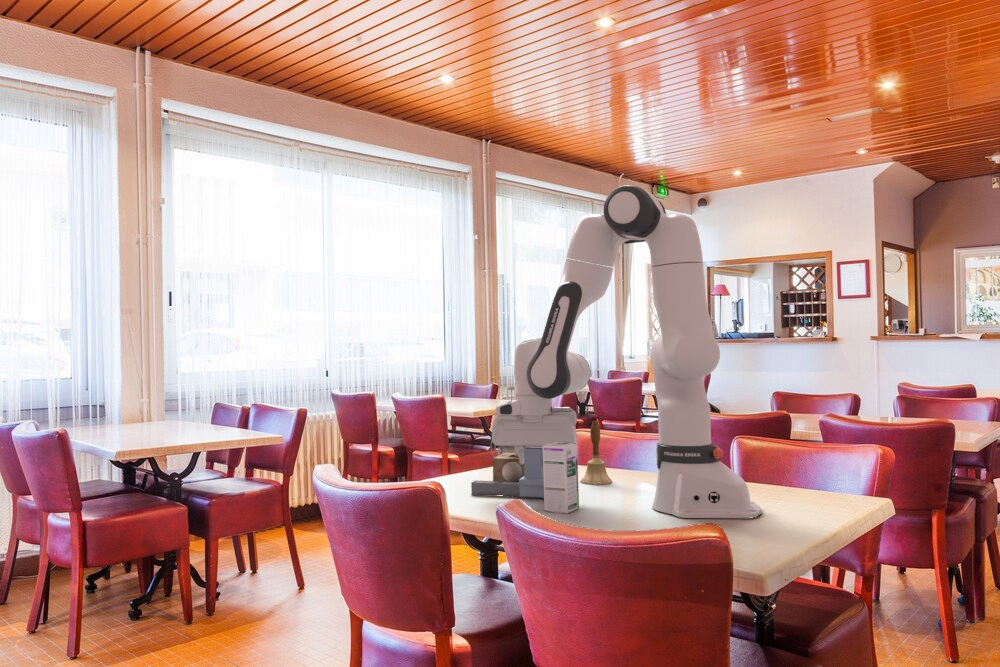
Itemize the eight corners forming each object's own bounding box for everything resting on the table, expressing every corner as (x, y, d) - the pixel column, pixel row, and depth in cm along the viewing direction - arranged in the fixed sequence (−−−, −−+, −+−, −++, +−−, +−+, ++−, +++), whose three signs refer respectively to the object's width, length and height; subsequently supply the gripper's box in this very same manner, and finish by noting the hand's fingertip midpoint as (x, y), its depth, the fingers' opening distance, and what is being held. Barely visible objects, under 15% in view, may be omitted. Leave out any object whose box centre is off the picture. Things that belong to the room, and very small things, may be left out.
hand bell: (614, 484, 192) (613, 422, 192) (581, 485, 192) (581, 422, 192) (610, 479, 200) (609, 419, 201) (579, 479, 200) (578, 419, 201)
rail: (559, 496, 178) (559, 483, 178) (556, 498, 175) (556, 485, 175) (475, 492, 184) (475, 480, 184) (471, 495, 181) (471, 482, 181)
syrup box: (567, 514, 159) (566, 445, 159) (543, 511, 162) (542, 444, 163) (579, 509, 164) (578, 442, 164) (555, 506, 167) (554, 441, 167)
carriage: (550, 492, 181) (549, 446, 181) (544, 497, 174) (543, 450, 174) (526, 491, 182) (525, 445, 182) (519, 496, 176) (518, 449, 176)
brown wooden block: (541, 484, 193) (541, 453, 193) (531, 492, 183) (531, 459, 183) (504, 483, 196) (504, 452, 196) (492, 490, 186) (492, 458, 186)
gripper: (578, 405, 179) (580, 464, 178) (496, 405, 185) (497, 462, 184) (573, 408, 173) (575, 468, 172) (489, 407, 179) (490, 466, 178)
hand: (534, 465), depth 178 cm, fingers closed on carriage, 4 cm apart
